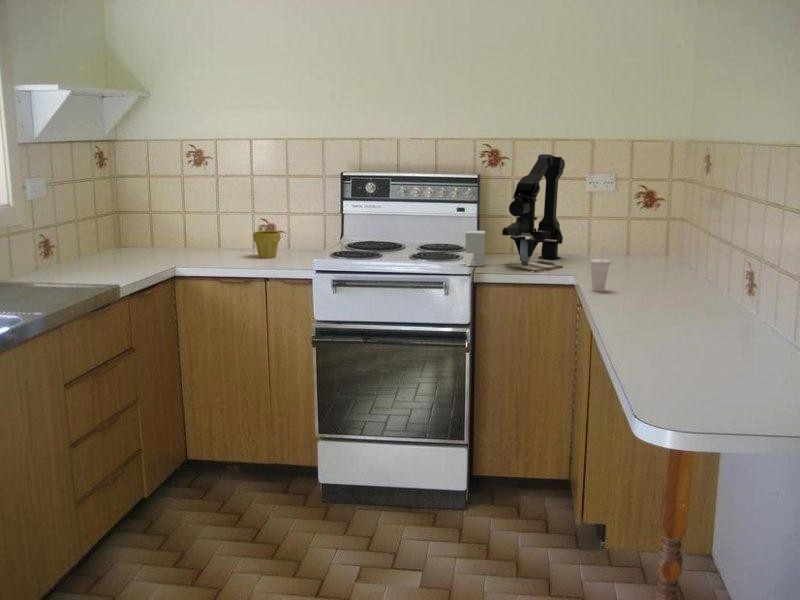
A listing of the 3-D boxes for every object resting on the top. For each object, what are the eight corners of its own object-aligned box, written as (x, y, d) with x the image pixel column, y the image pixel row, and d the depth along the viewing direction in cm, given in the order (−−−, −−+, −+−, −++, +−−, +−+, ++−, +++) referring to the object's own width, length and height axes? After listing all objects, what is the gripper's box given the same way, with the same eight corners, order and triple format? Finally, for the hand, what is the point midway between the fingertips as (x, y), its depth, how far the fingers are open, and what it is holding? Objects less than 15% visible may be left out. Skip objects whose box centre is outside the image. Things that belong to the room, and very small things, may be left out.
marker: (523, 263, 312) (525, 238, 310) (531, 264, 309) (533, 239, 307) (517, 264, 309) (518, 239, 307) (525, 265, 306) (526, 240, 305)
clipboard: (533, 262, 319) (533, 259, 319) (562, 267, 309) (563, 264, 309) (505, 267, 308) (505, 263, 308) (535, 272, 298) (535, 268, 298)
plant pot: (259, 259, 319) (258, 234, 317) (250, 256, 328) (249, 231, 326) (284, 258, 324) (284, 233, 322) (274, 254, 333) (274, 229, 331)
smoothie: (597, 293, 262) (599, 249, 259) (583, 289, 268) (586, 246, 265) (612, 291, 265) (615, 247, 262) (599, 288, 271) (602, 245, 268)
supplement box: (484, 263, 316) (485, 230, 314) (484, 266, 309) (485, 232, 306) (465, 263, 317) (465, 230, 314) (464, 266, 310) (465, 232, 307)
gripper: (493, 213, 307) (491, 255, 310) (533, 217, 293) (531, 261, 296) (512, 211, 314) (511, 252, 317) (552, 216, 301) (550, 258, 304)
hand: (525, 256), depth 309 cm, fingers closed on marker, 4 cm apart
